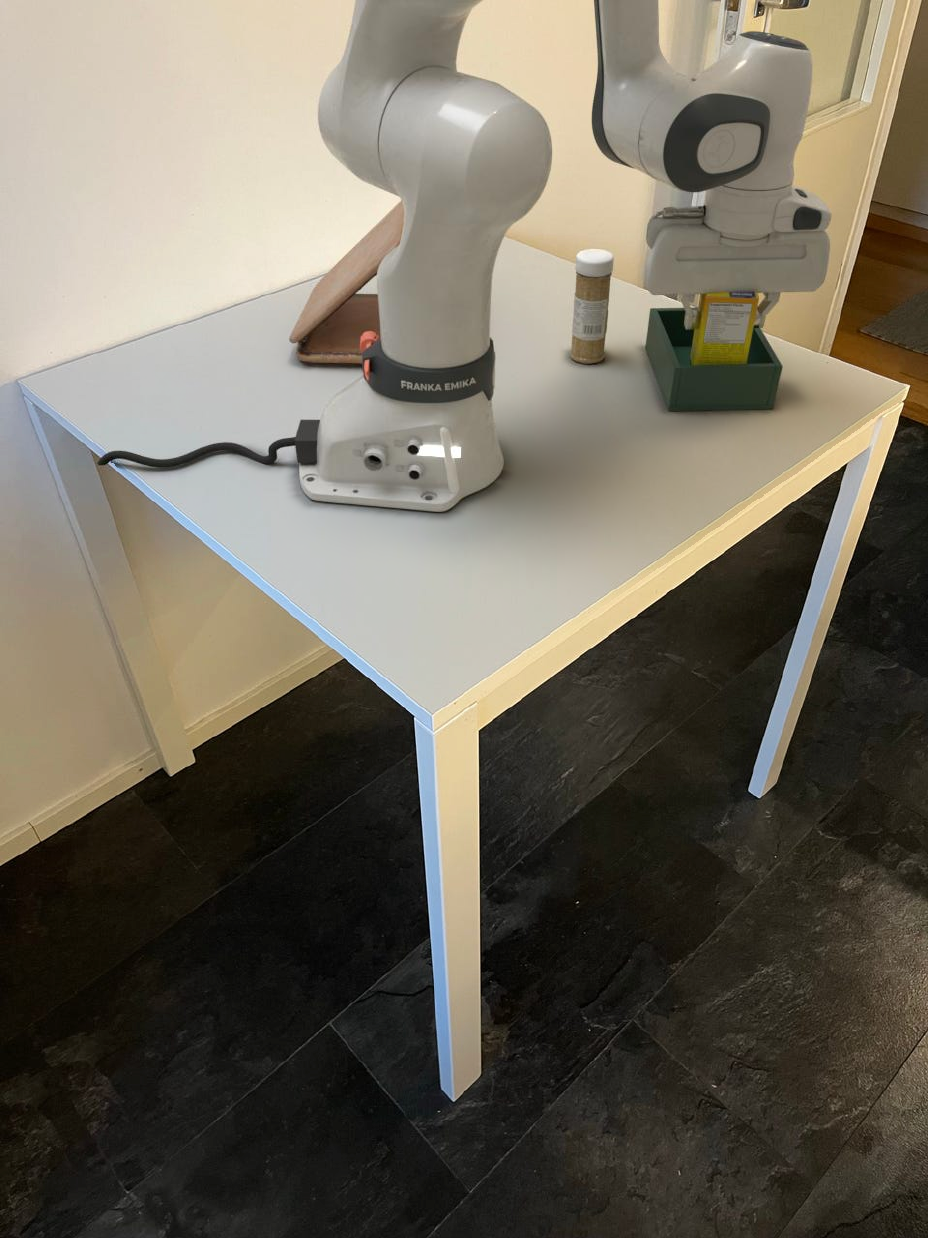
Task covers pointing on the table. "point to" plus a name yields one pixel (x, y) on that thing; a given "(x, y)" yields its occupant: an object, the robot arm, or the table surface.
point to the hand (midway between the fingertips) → (723, 326)
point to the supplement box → (724, 328)
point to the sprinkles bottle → (591, 305)
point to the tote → (708, 369)
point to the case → (347, 299)
